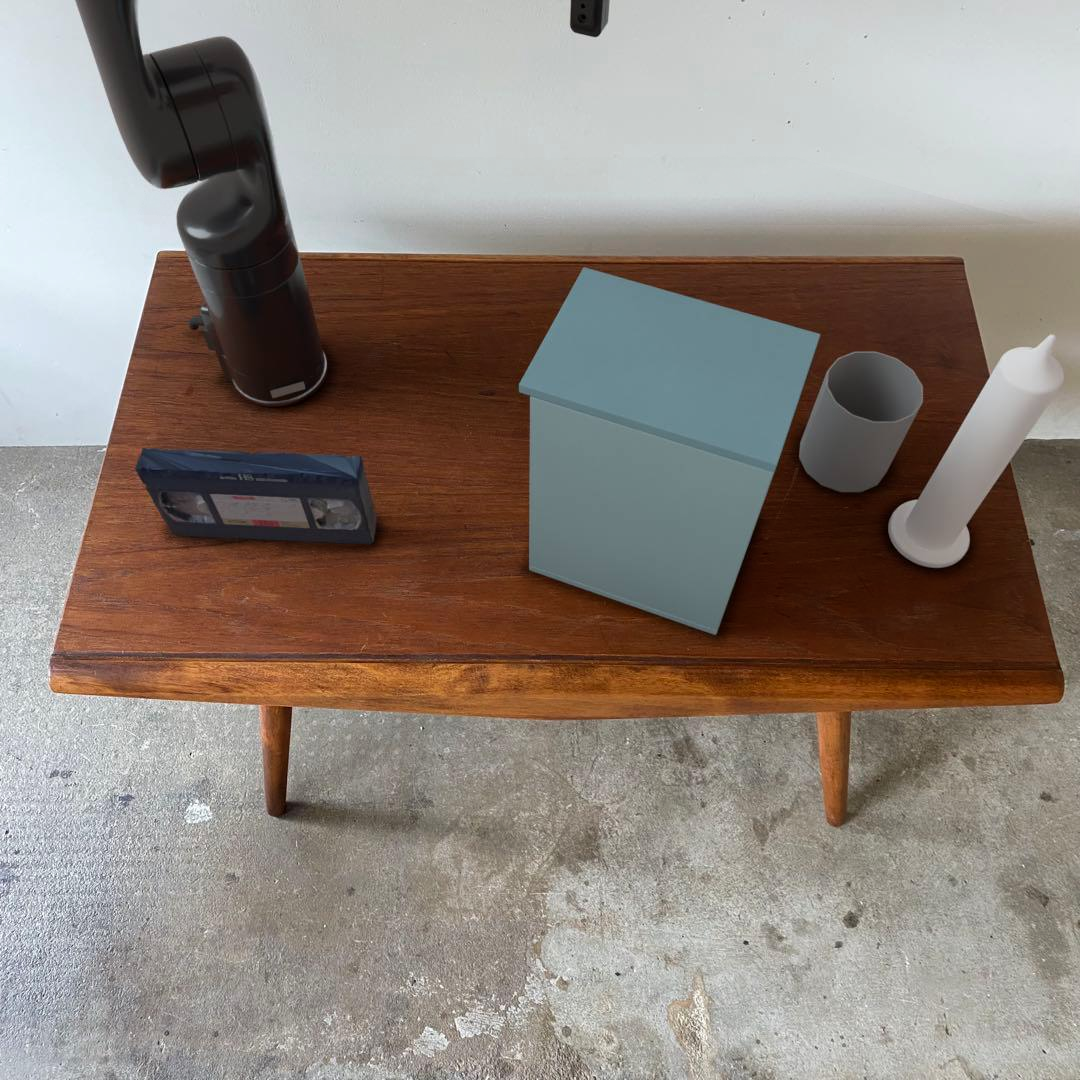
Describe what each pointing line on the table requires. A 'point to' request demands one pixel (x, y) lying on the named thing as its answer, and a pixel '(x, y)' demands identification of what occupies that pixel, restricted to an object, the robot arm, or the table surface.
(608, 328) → the lid
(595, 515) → the chest
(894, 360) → the cup
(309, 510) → the vhs cassette tape
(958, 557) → the candle
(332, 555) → the table surface
